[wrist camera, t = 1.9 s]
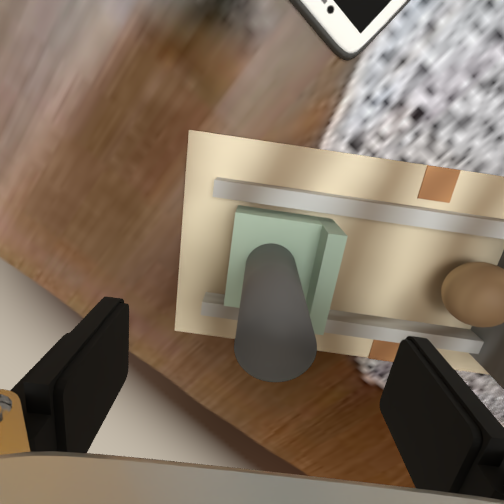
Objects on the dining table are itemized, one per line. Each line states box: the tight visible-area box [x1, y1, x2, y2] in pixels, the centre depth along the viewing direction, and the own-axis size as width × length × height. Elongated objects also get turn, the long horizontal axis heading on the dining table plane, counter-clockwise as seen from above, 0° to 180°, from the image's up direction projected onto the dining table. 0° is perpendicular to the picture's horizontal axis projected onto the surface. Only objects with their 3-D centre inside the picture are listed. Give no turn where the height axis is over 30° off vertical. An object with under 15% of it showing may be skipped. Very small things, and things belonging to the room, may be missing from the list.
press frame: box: [175, 130, 504, 389], centre depth 20 cm, size 24×14×8 cm, turn 82°
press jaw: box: [224, 205, 348, 382], centre depth 17 cm, size 6×6×10 cm
